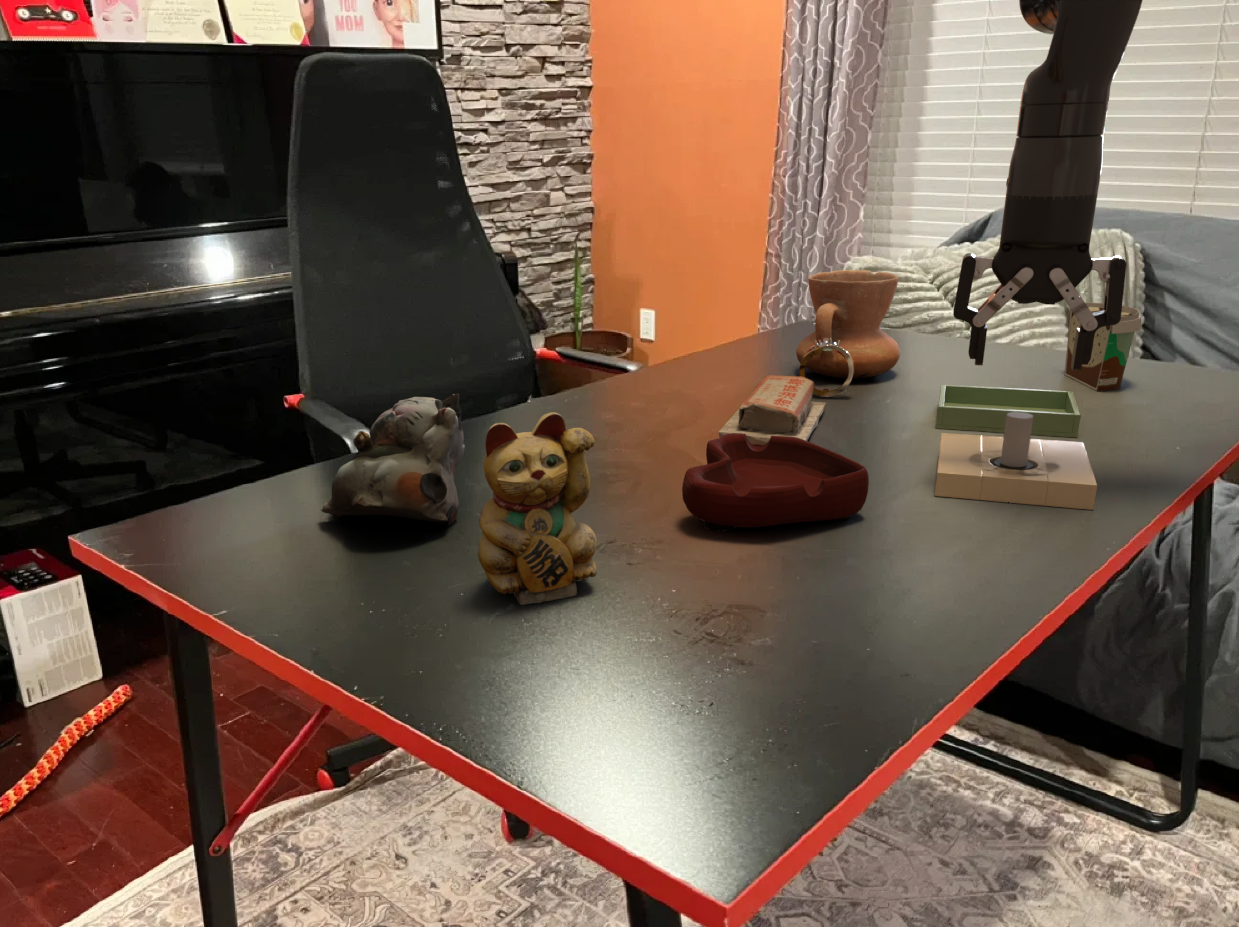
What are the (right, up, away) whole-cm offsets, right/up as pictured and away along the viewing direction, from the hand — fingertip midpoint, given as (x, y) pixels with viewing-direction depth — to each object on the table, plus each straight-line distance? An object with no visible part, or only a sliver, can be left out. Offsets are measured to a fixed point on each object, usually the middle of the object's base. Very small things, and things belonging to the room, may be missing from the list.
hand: (1026, 366), depth 97 cm
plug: (0, -11, +5) cm, 12 cm away
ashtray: (-24, -14, +1) cm, 28 cm away
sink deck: (+1, -11, +6) cm, 12 cm away
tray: (+10, -3, +26) cm, 28 cm away
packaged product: (-18, -4, +27) cm, 33 cm away
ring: (-9, +1, +39) cm, 40 cm away
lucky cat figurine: (-61, -15, +3) cm, 63 cm away
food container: (+30, +4, +42) cm, 51 cm away
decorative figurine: (-47, -20, -14) cm, 53 cm away
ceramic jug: (-3, +6, +51) cm, 51 cm away
